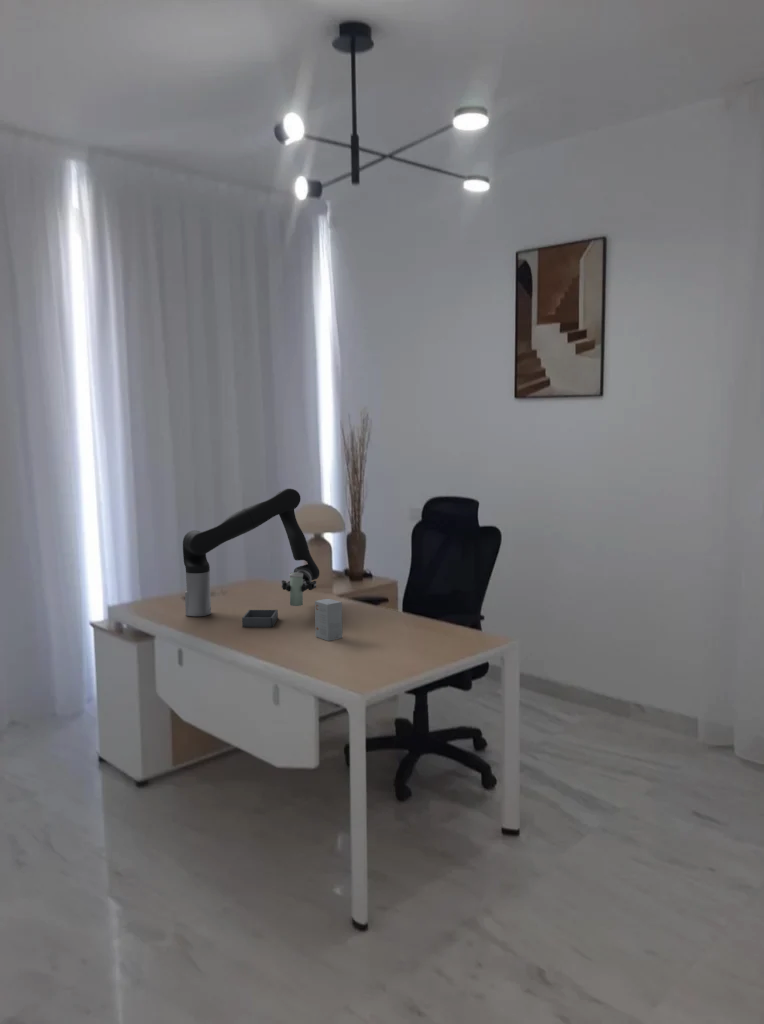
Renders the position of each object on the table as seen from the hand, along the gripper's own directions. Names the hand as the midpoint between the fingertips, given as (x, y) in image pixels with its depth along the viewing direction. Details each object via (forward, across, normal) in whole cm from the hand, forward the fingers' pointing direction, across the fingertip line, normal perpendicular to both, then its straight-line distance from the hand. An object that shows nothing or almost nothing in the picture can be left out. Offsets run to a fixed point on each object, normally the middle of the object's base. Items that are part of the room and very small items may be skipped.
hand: (295, 588), depth 303 cm
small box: (+20, +14, +13) cm, 28 cm away
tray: (-1, -14, +13) cm, 19 cm away
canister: (-2, 0, +6) cm, 7 cm away
